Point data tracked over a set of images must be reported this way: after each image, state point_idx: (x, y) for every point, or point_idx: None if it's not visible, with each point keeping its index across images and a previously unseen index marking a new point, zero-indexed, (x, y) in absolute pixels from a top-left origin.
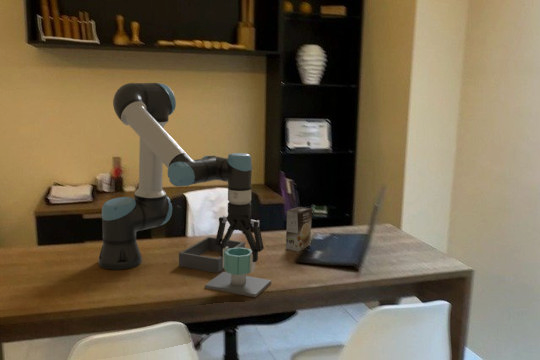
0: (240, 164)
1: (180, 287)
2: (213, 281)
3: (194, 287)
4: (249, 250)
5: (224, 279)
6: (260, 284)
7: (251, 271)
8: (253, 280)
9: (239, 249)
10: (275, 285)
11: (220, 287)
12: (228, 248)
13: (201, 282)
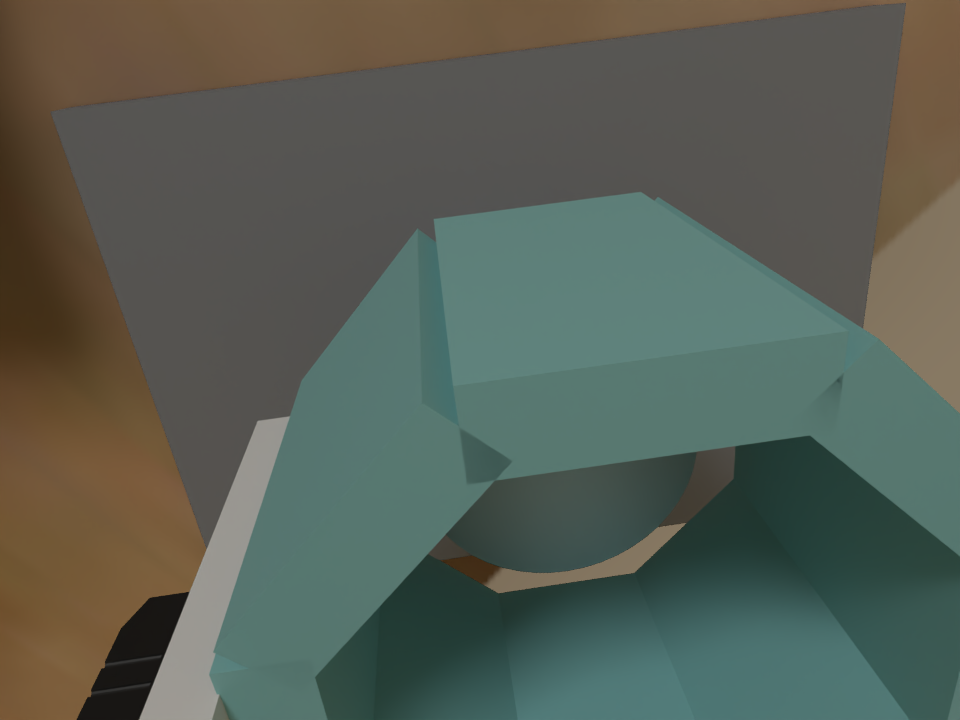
0: None
1: (19, 677)
2: (227, 477)
3: (132, 611)
4: (911, 483)
5: (294, 354)
6: (804, 240)
7: None
8: (663, 166)
9: (488, 453)
10: (954, 53)
11: None
12: (219, 711)
13: (74, 483)
